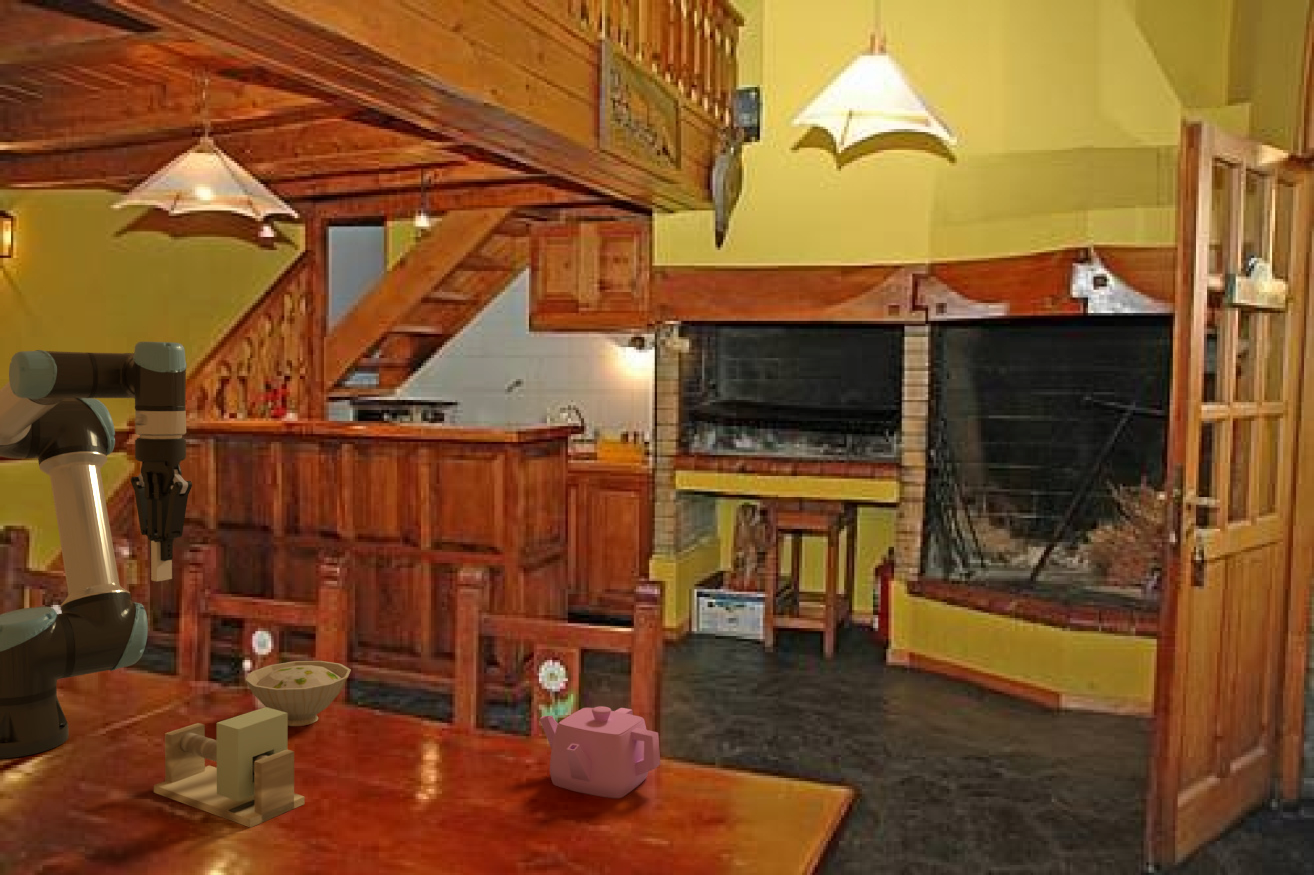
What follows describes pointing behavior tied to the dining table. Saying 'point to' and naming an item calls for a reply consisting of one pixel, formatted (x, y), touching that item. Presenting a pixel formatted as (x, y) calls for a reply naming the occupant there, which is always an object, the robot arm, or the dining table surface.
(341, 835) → the dining table surface
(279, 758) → the rail stand
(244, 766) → the square sliding block
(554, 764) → the teakettle
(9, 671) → the robot arm
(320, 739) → the dining table surface
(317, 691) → the bowl
